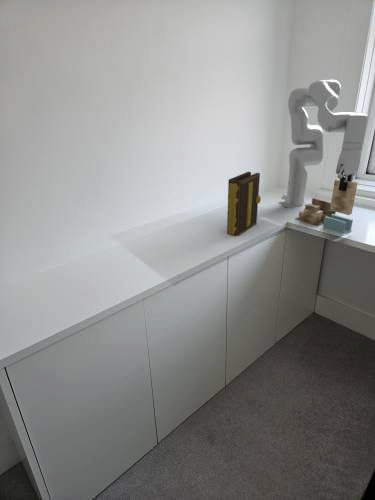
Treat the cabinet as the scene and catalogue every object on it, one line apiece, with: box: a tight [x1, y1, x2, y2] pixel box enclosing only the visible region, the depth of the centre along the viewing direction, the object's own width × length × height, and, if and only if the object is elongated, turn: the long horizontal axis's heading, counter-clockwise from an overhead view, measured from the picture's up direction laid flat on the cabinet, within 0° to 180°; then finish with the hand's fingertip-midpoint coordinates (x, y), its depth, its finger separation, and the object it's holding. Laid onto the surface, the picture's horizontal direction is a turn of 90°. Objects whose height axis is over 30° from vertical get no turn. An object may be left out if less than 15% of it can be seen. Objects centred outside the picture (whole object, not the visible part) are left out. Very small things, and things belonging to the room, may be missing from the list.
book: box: [226, 171, 262, 237], centre depth 151 cm, size 22×8×25 cm, turn 143°
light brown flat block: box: [330, 178, 359, 216], centre depth 143 cm, size 9×2×14 cm, turn 35°
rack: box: [294, 197, 337, 227], centre depth 160 cm, size 13×14×9 cm
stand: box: [322, 213, 354, 234], centre depth 149 cm, size 10×9×6 cm
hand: (344, 189), depth 142 cm, fingers closed on light brown flat block, 2 cm apart
